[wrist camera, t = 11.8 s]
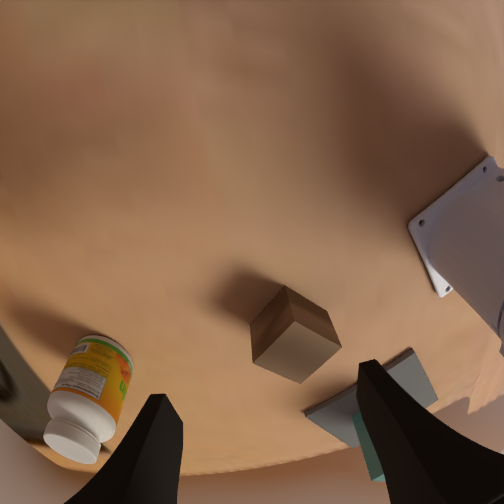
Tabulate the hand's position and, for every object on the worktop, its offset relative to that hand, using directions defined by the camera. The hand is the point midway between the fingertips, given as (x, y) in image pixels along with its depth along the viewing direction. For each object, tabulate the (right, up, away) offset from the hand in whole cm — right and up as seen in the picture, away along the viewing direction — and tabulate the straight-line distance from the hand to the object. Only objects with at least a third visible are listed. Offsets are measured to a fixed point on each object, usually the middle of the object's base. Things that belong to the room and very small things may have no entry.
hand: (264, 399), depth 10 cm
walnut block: (+2, +1, +11) cm, 12 cm away
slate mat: (+13, -11, +17) cm, 24 cm away
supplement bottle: (-13, -3, +13) cm, 18 cm away
